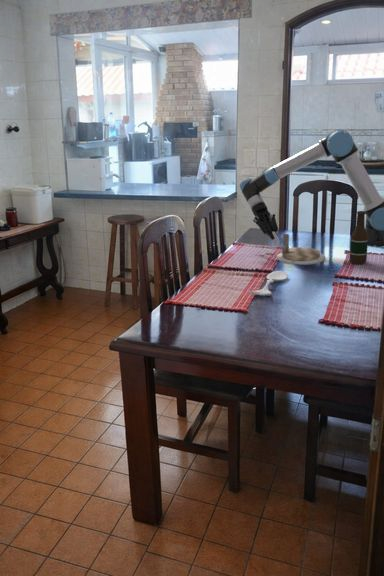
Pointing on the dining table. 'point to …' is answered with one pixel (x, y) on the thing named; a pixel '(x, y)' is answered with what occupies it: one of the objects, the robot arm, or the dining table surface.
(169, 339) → the dining table surface
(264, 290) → the spoon
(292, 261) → the white plate
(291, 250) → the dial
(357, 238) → the beer bottle
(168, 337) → the dining table surface
